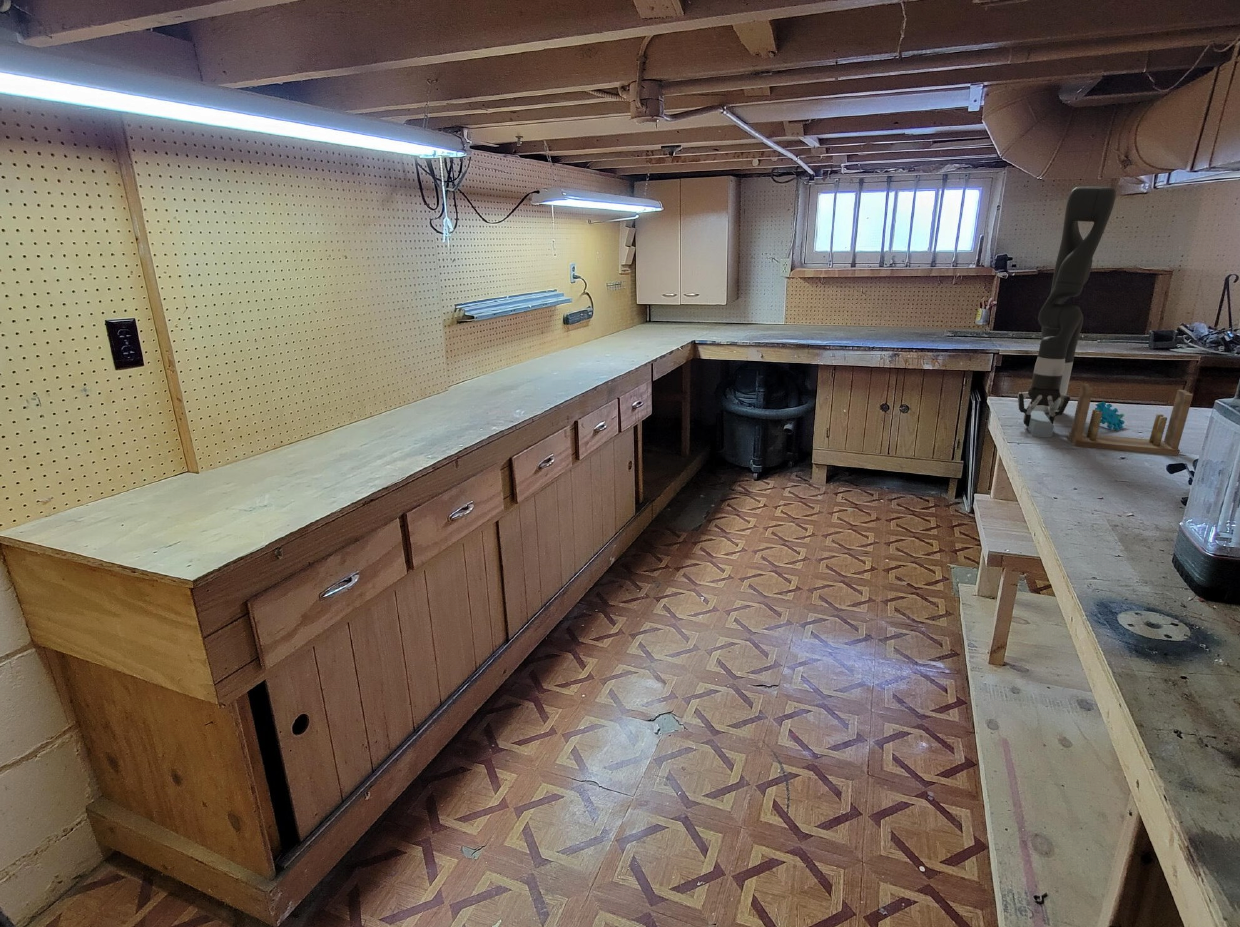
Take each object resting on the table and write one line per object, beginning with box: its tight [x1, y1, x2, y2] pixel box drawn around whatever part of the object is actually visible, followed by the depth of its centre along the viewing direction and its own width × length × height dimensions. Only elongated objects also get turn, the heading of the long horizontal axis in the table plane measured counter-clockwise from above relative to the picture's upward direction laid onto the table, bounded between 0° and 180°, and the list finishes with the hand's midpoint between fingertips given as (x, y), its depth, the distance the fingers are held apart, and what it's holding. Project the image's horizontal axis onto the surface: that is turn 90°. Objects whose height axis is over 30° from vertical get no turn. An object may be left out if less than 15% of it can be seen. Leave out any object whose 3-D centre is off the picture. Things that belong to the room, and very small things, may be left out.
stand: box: [1068, 383, 1194, 456], centre depth 186 cm, size 9×24×16 cm, turn 68°
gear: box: [1094, 401, 1125, 431], centre depth 207 cm, size 11×6×10 cm
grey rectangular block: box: [1022, 411, 1055, 438], centre depth 206 cm, size 18×5×4 cm, turn 158°
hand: (1037, 426), depth 206 cm, fingers closed on grey rectangular block, 5 cm apart
